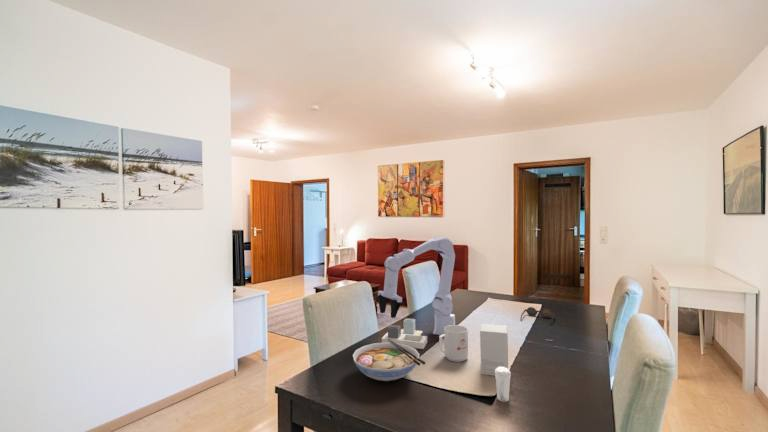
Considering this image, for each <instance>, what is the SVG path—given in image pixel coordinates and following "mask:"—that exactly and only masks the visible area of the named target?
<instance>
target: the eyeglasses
mask: <svg viewBox="0 0 768 432" xmlns="http://www.w3.org/2000/svg"><path fill="white" fill-rule="evenodd" d="M525 312H526V313H527V315H528V316H532V317H533V316H534V317H536V316H537V315H538V313H540V315H541V316H542V318H548V319H550V322H549V324H548V327H550V326H551V325H552V322H553V319H554V317H555V312H552V310H551V309H547V308H545V309H543V310H537V309H536V308H535V307H533V306H529V307H527V308H526V309H524V310H523V312H522V313H521V314H520V315H521V316H520V321H521V322H523V320H522V317H523V315H524V314H525Z"/></svg>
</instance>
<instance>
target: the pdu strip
mask: <svg viewBox="0 0 768 432" xmlns="http://www.w3.org/2000/svg"><path fill="white" fill-rule="evenodd" d="M401 329H402V327H401V325H399V324H398V325H397V324H390V325H389V326H388V327H387V332H386V333H385V334H384V335H383V336H382V337H381V343H384V342H387V343H391V342H392V341H393V342H394V343H399V344H404V345H408V346H410V347H412V348H414V349H421V350H425V347H426V345H427V343H428V335H410V334H401ZM387 339H388V340H389V339H390V340H391V342H390V340H389V341H388V340H387ZM393 342H392V343H393Z"/></svg>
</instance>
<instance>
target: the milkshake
mask: <svg viewBox="0 0 768 432" xmlns="http://www.w3.org/2000/svg"><path fill="white" fill-rule="evenodd" d="M493 369H494V367H493ZM494 371H495V376H494V379H495V390H496V397H497V400H498V401H499V402H502V403H505V402H506V403H507V402H508V401H509V400H510V399H509V398H510V389H511V388H510V386H511V385H510V384H511V375H512V372H511V371H510V369H509V368H508V369H507V368H505V367H501V366H499V367H497V368H496V369H495V370H494Z"/></svg>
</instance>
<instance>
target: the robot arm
mask: <svg viewBox="0 0 768 432" xmlns="http://www.w3.org/2000/svg"><path fill="white" fill-rule="evenodd" d="M430 250H433V251H435V252H437V253H438V254H440V256H441V257H442V264H441V269H440V270H441V271H440V276H439V277H440V278H439V283H438V290H437V292H436V293H435V294H434V298H433V299H432V302H431V305H432V308H433V309H434V329H433V331H432V335H438V336H440V335H442V334H444V328H445V327H446V326H449V325H456V315H455V314H454V313H452V312H453V309H454V305H453V298H452V295H451V287H452V281H453V274H454V273H453V272H454V269H455V268H454V267H455V260H456V253H455V250H454V242H453V241H452V240H451V239H450V238H448V237H440V236H435V237H433V238H430V239H429V240H427V241H425V242H423V243H421V244H419V245H418V246H416V247H414V248H413V249H410V248H404V249H402V251H400V252H398V253H395V254H393V256H388V257H386V259H385V260H384V262H383V263H384V264H383V265H384V267H385V274H384V283H383V290H378V291H377V296H376V300H377V302H378V306H379V311H380V312H379V313H380V314H385V313H386V310H387V304H388V301H389V300H390V301H389V305H390V318H392V319H395V318H396V317H397V315H398V311H399V309H400V307H401V306H402V304H403V297H402V296H399V295H398V294H397V291H398V290H397V289H398V279H399V271H400V269H401V268H402V267H403V266H405V265H407V264H409V263H411V262H412V261H414V260H415V258H416V257H417V256H419V255H422V254H424V253H425V252H428V251H430Z"/></svg>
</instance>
